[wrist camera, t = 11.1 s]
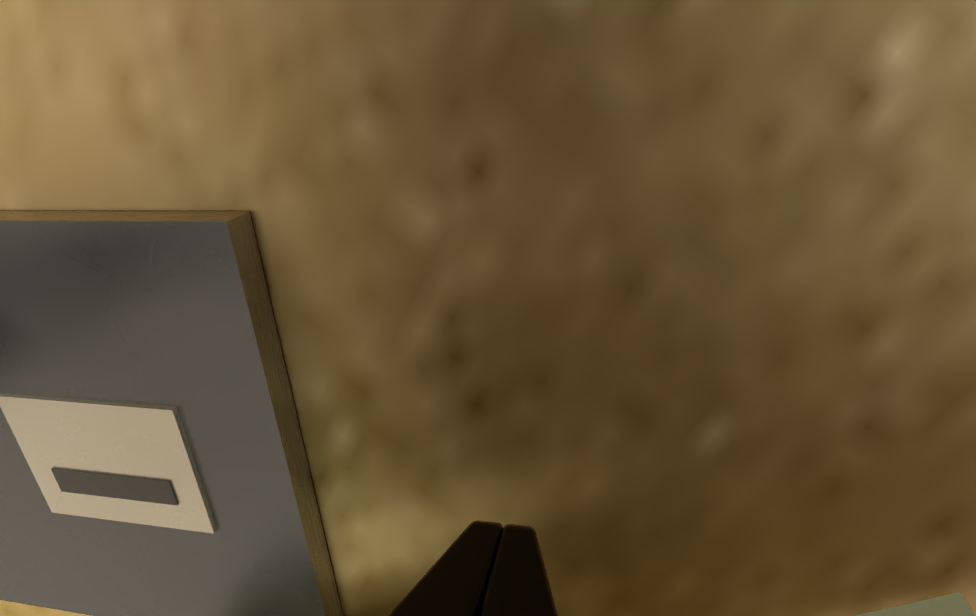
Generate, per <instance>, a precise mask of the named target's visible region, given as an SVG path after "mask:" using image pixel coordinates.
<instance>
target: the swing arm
mask: <svg viewBox="0 0 976 616" xmlns="http://www.w3.org/2000/svg"><path fill="white" fill-rule="evenodd" d="M854 616H975V614H974V612H973V611H972V609H971V608H970V606H969V605H968V603H967V601H966V600H965V598H964V597H963V595H962V593H961V592H957V593H953V594H948V595H944V596H939V597H935V598H930V599H926V600H921V601H917V602H912V603H908V604H903V605H899V606H894V607H890V608H885V609H881V610H876V611H872V612H867V613H863V614H858V615H854Z"/></svg>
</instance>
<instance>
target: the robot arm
mask: <svg viewBox="0 0 976 616" xmlns="http://www.w3.org/2000/svg"><path fill="white" fill-rule="evenodd" d="M389 616H558V615H557V611H556V607H555V603H554V599H553V596H552V592H551V588H550V584H549V580H548V577H547V573H546V569H545V565H544V562H543V558H542V554H541V550H540V546H539V543H538V539H537V535H536V532H535V530H534V528H533V527H530V526H522V525H513V524H507V525H505V527H503V526H502V525H501V524H500V523H495V522H486V521H474V522H472V523H471V524H470V525H469V526H468V527H467V528H466V530H465V531H464V532H463V533H462V534H461V535H460V536H459V537H458V538H457V540H456V541H455V542H454V543H453V544H452V545H451V546H450V547H449V549H448V550H447V551H446V552H445V553H444V554H443V555H442V556H441V558H440V559H439V560H438V561H437V562H436V563H435V564H434V565H433V566H432V568H431V569H430V570H429V571H428V572H427V573H426V574H425V575H424V577H423V578H422V579H421V580H420V581H419V582H418V583H417V584H416V586H415V587H414V588H413V589H412V590H411V591H410V592H409V593H408V594H407V596H406V597H405V598H404V599H403V600H402V601H401V602H400V603H399V605H398V606H397V607H396V608H395V609H394V610H393V611H392V612H391V614H390V615H389Z"/></svg>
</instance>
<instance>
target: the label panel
mask: <svg viewBox="0 0 976 616" xmlns="http://www.w3.org/2000/svg"><path fill="white" fill-rule="evenodd" d="M0 600H5V601H11V602H17V603H23V604H29V605H34V606H40V607H46V608H52V609H58V610H63V611H69V612H75V613H81V614H87V615H93V616H343V614H342V610H341V606H340V601H339V597H338V593H337V588H336V584H335V580H334V575H333V571H332V567H331V562H330V558H329V554H328V549H327V545H326V541H325V536H324V532H323V528H322V523H321V519H320V515H319V510H318V506H317V502H316V497H315V493H314V489H313V484H312V480H311V476H310V471H309V467H308V463H307V458H306V454H305V450H304V445H303V441H302V437H301V432H300V428H299V424H298V419H297V415H296V411H295V406H294V402H293V398H292V393H291V389H290V385H289V380H288V376H287V372H286V367H285V363H284V359H283V354H282V350H281V346H280V341H279V337H278V333H277V328H276V324H275V320H274V315H273V311H272V307H271V302H270V298H269V294H268V289H267V285H266V281H265V276H264V272H263V268H262V263H261V259H260V255H259V250H258V246H257V242H256V237H255V233H254V229H253V224H252V220H251V216H250V211H0Z"/></svg>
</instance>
